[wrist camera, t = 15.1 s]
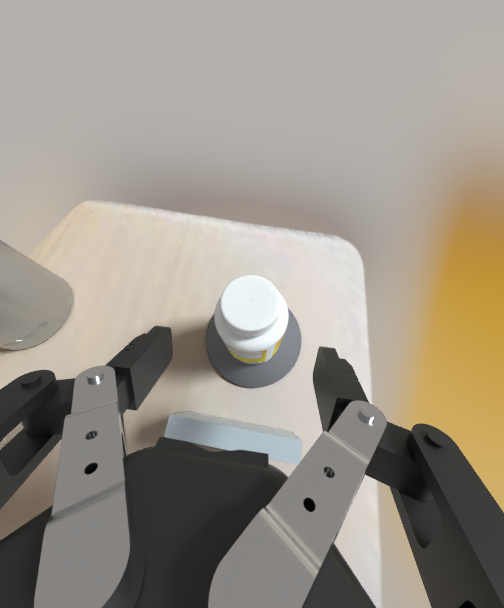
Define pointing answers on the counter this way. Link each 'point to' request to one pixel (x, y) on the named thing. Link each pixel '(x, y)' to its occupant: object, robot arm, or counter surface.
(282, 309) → the supplement bottle
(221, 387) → the counter surface
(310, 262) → the counter surface
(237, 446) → the low wall
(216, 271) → the counter surface
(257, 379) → the resting mat
